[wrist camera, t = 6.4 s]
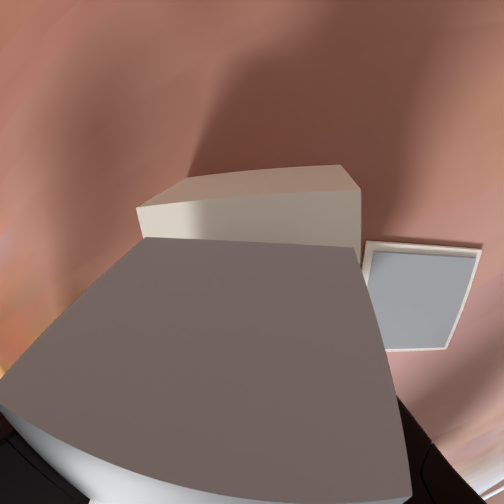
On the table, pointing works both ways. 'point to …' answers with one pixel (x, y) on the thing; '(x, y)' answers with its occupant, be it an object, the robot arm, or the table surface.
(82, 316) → the grey block
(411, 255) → the tile
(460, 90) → the table surface
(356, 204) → the cream block
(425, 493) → the robot arm
